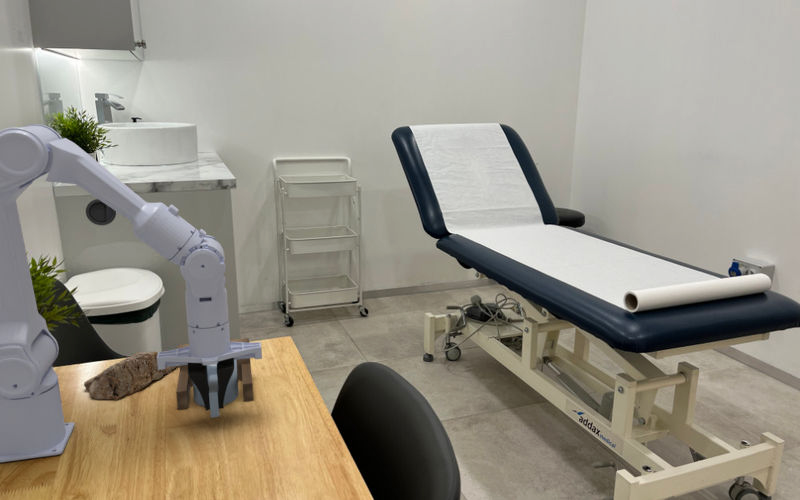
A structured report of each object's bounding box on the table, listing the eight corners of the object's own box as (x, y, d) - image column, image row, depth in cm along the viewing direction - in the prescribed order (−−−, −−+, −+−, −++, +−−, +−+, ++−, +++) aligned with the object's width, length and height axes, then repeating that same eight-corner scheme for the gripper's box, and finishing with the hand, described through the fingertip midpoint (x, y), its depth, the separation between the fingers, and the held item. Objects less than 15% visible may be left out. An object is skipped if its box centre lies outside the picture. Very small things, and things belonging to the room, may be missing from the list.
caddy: (177, 409, 94) (174, 368, 92) (181, 382, 102) (178, 344, 101) (253, 400, 97) (251, 360, 95) (251, 375, 105) (248, 338, 104)
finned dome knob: (190, 429, 88) (187, 389, 87) (194, 388, 100) (191, 352, 99) (240, 422, 90) (237, 383, 88) (238, 383, 102) (235, 348, 101)
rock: (120, 406, 95) (116, 373, 94) (70, 396, 98) (65, 363, 97) (183, 366, 109) (180, 337, 107) (137, 358, 112) (134, 329, 111)
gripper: (151, 336, 81) (160, 426, 84) (261, 326, 85) (265, 412, 88) (156, 318, 88) (165, 402, 91) (258, 309, 91) (262, 390, 95)
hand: (214, 406), depth 90 cm, fingers closed on finned dome knob
